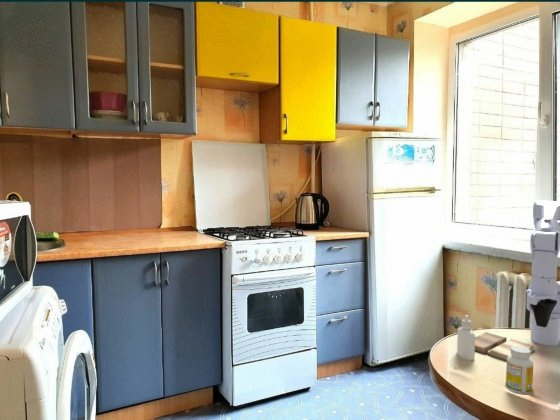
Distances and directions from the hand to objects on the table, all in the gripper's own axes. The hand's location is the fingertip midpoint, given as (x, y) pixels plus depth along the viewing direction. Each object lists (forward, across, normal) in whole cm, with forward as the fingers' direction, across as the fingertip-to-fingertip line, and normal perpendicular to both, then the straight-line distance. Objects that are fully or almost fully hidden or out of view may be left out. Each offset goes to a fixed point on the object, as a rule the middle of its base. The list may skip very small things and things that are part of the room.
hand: (541, 326), depth 113 cm
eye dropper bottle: (+10, +15, -13) cm, 22 cm away
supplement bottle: (+10, +22, +4) cm, 24 cm away
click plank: (+9, +3, -6) cm, 11 cm away
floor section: (+9, +3, -10) cm, 14 cm away
